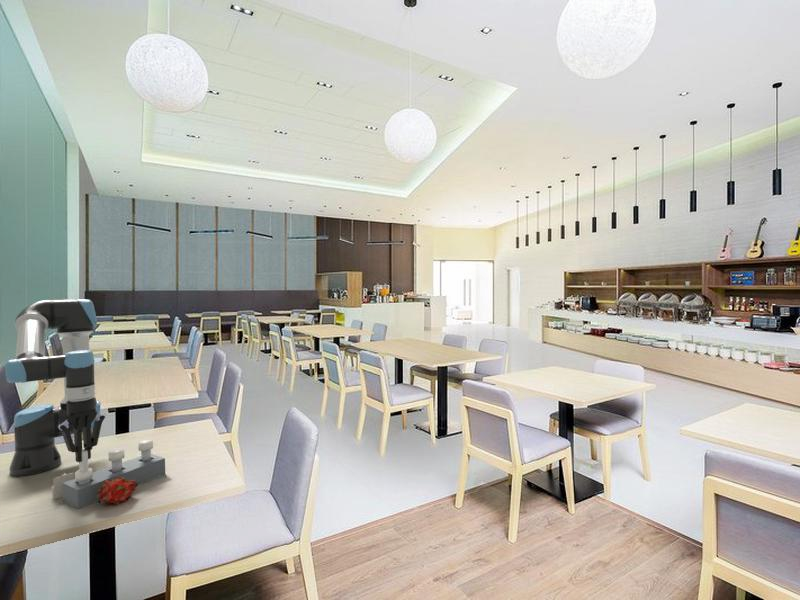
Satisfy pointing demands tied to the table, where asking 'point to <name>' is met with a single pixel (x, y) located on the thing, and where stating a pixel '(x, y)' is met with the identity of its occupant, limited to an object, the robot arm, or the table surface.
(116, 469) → the knob mid
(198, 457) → the table surface
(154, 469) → the mount
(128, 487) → the dragon fruit
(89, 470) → the knob near
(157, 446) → the table surface
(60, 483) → the architectural model
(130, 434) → the table surface
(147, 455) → the knob far
